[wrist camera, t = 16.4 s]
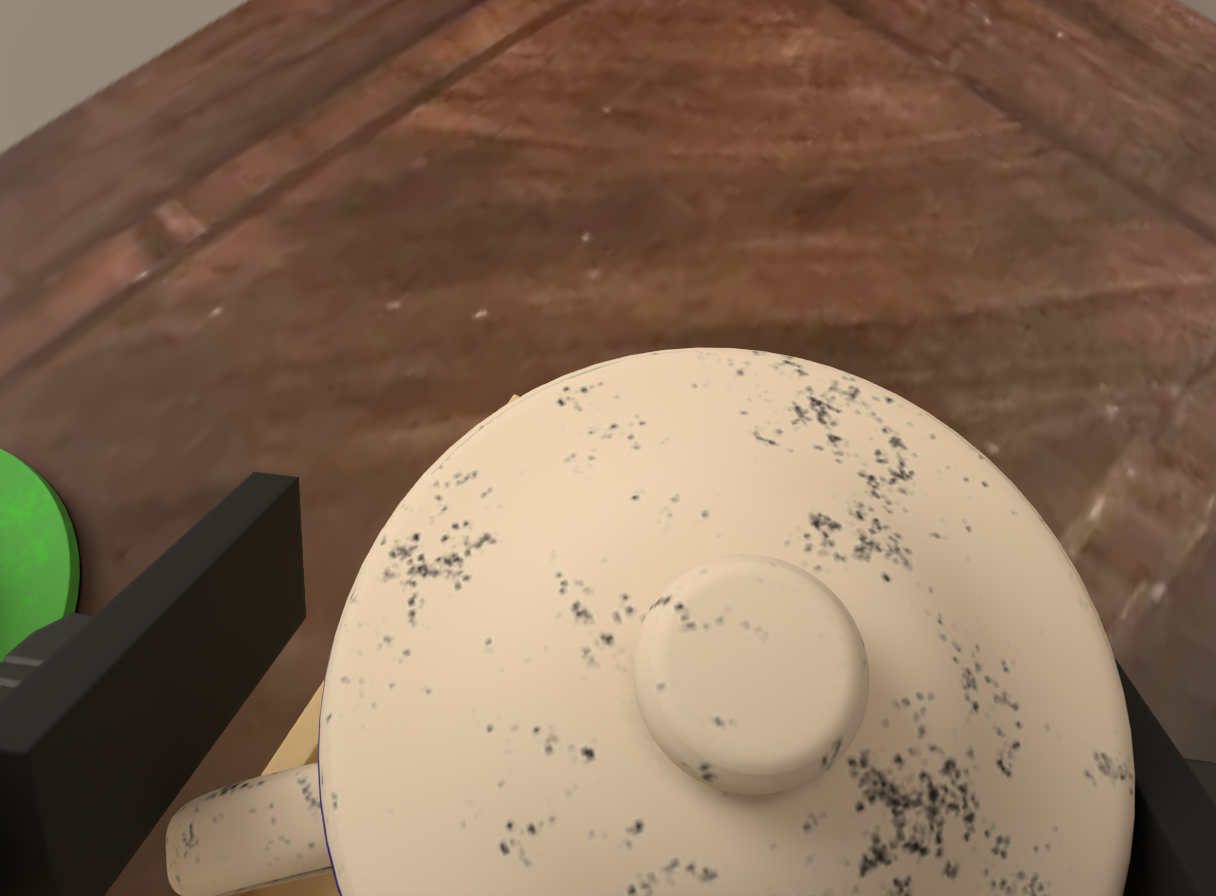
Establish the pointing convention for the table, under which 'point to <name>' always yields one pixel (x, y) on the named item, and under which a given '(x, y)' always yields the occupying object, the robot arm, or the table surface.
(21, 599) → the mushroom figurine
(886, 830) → the teacup with lid
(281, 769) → the wooden tray
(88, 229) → the table surface
